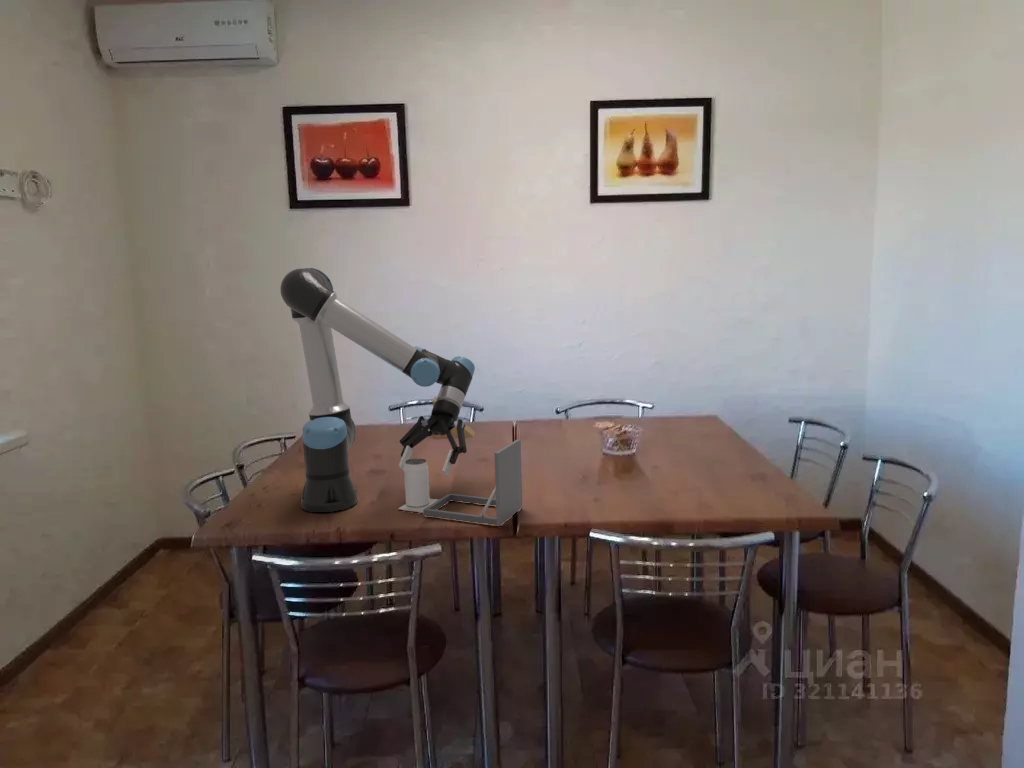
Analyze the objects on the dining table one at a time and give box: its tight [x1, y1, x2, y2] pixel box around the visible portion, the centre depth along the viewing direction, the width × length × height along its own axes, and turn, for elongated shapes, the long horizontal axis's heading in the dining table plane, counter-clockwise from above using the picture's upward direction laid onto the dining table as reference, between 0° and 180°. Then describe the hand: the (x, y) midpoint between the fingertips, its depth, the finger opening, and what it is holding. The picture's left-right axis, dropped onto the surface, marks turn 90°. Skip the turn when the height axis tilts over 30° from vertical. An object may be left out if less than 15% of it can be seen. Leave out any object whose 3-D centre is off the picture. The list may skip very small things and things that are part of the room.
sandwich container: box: [432, 396, 476, 439], centre depth 271 cm, size 9×15×15 cm, turn 92°
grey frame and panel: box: [422, 439, 523, 526], centre depth 185 cm, size 22×14×19 cm, turn 66°
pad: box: [397, 498, 439, 512], centre depth 193 cm, size 8×10×1 cm
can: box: [403, 457, 431, 507], centre depth 192 cm, size 6×6×12 cm
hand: (423, 471), depth 192 cm, fingers open, 13 cm apart
